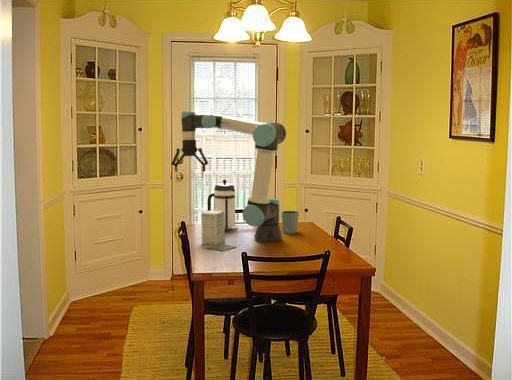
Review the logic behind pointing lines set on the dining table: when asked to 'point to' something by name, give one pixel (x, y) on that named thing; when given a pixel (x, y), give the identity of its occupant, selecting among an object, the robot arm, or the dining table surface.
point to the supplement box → (213, 227)
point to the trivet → (221, 247)
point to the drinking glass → (289, 221)
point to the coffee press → (224, 203)
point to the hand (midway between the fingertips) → (190, 177)
